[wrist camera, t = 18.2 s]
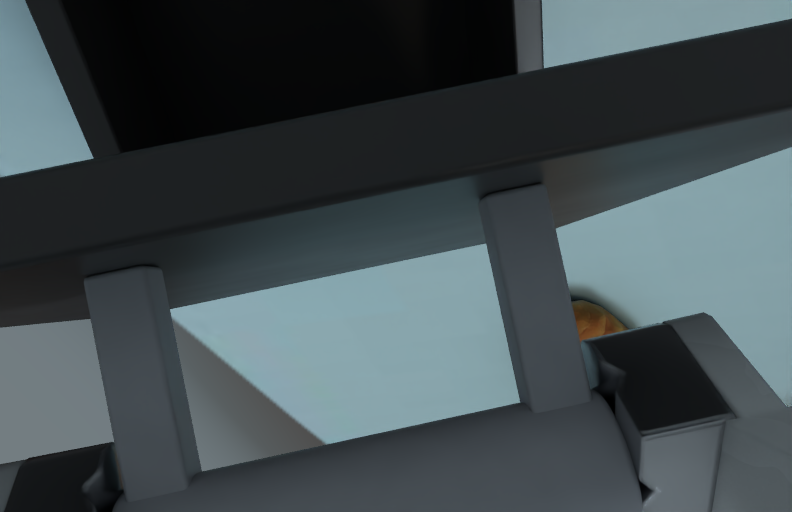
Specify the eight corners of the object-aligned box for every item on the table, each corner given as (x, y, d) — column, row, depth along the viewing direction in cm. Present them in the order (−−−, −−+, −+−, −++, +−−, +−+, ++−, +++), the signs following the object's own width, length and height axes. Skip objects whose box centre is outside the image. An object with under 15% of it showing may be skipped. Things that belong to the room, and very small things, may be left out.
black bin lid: (-551, 285, 6) (-456, 905, 6) (1047, -36, 7) (1186, 524, 6) (147, 289, 25) (176, 438, 24) (550, 205, 25) (582, 350, 25)
